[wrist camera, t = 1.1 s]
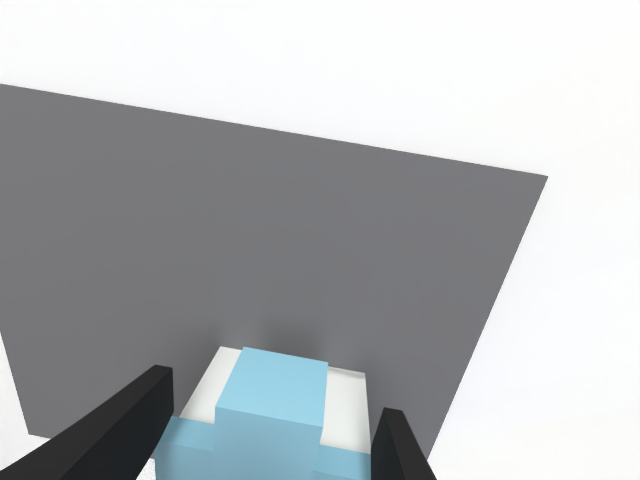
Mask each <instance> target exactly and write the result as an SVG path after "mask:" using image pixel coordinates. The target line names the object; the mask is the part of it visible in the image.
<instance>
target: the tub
mask: <svg viewBox="0 0 640 480" xmlns="http://www.w3.org/2000/svg"><path fill="white" fill-rule="evenodd" d="M241 351H242V350H238V349H232V348H227V347H222V346H220V348H219V350H218V351H217V353H216V355H215V357H214V358H213V360H212V362H211V363H210V365H209V367H208V368H207V370H206V372H205V374H204V375H203V377H202V379H201V380H200V382H199V384H198V386H197V387H196V389H195V391H194V392H193V394H192V396H191V398H190V399H189V401H188V403H187V404H186V406H185V408H184V409H183V411H182V413H181V415H180V416H179V417H180V418H185V419H190V420H195V421H200V422H206V423H211V424H214V420H215V406H216V403H217V401H218V399H219V397H220V395H221V393H222V391H223V389H224V387H225V385H226V382H227V380H228V378H229V376H230V374H231V372H232V370H233V368H234V366H235V364H236V362H237V359H238V357H239V355H240V353H241ZM320 445H325V446H330V447H336V448H341V449H346V450H351V451H356V452H362V453H367V454H371V442H370V430H369V417H368V405H367V392H366V380H365V373H361V372H356V371H351V370H345V369H340V368H334V367H329V366H328V371H327V385H326V398H325V411H324V424H323V430H322V435H321V439H320Z"/></svg>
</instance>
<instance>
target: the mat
mask: <svg viewBox="0 0 640 480" xmlns="http://www.w3.org/2000/svg"><path fill="white" fill-rule="evenodd" d="M547 178H548V176H545V175H539V174H533V173H527V172H521V171H515V170H509V169H503V168H498V167H492V166H486V165H480V164H474V163H468V162H462V161H456V160H450V159H444V158H438V157H432V156H426V155H420V154H414V153H408V152H402V151H397V150H391V149H385V148H379V147H373V146H367V145H361V144H355V143H349V142H343V141H337V140H331V139H325V138H319V137H313V136H307V135H302V134H296V133H290V132H284V131H278V130H272V129H266V128H260V127H254V126H248V125H242V124H236V123H230V122H224V121H218V120H212V119H206V118H201V117H195V116H189V115H183V114H177V113H171V112H165V111H159V110H153V109H147V108H141V107H135V106H129V105H123V104H117V103H111V102H105V101H100V100H94V99H88V98H82V97H76V96H70V95H64V94H58V93H52V92H46V91H40V90H34V89H28V88H22V87H16V86H10V85H5V84H0V332H1V336H2V340H3V343H4V347H5V350H6V354H7V358H8V361H9V365H10V368H11V372H12V376H13V379H14V383H15V386H16V390H17V394H18V397H19V401H20V404H21V408H22V411H23V415H24V419H25V422H26V426H27V429H28V433H29V434H30V435H35V436H40V437H45V438H51V439H52V438H53V437H55V436H56V435H58V434H59V433H61V432H62V431H64V430H65V429H67V428H68V427H70V426H71V425H72V424H74V423H75V422H77V421H78V420H80V419H81V418H83V417H84V416H85V415H87V414H88V413H90V412H91V411H92V410H94V409H95V408H97V407H98V406H99V405H101V404H102V403H103V402H105V401H106V400H108V399H109V398H110V397H112V396H113V395H114V394H116V393H117V392H119V391H120V390H121V389H123V388H124V387H125V386H127V385H128V384H129V383H131V382H132V381H133V380H135V379H136V378H137V377H139V376H140V375H141V374H143V373H144V372H145V371H147V370H148V369H149V368H151V367H152V366H154V365H155V364H156V365H161V366H166V367H172V368H173V393H174V412H173V415H172V416H174V417H179V416H180V415H181V413H182V411H183V409H184V408H185V406H186V404H187V403H188V401H189V399H190V398H191V396H192V394H193V392H194V391H195V389H196V387H197V386H198V384H199V382H200V380H201V379H202V377H203V375H204V374H205V372H206V370H207V368H208V367H209V365H210V363H211V362H212V360H213V358H214V357H215V355H216V353H217V351H218V350H219V348H220V346H222V347H227V348H232V349H238V350H242V349H243V347H248V348H254V349H259V350H265V351H270V352H275V353H281V354H286V355H292V356H297V357H302V358H308V359H313V360H318V361H324V362H328V366H329V367H334V368H340V369H345V370H351V371H356V372H361V373H365V380H366V392H367V405H368V417H369V430H370V442H371V445H372V442H373V439H374V436H375V433H376V430H377V427H378V424H379V420H380V417H381V414H382V411H383V408H384V407H386V408H392V409H397V410H402V411H403V413H404V414H405V416H406V418H407V421H408V423H409V425H410V427H411V429H412V431H413V433H414V436H415V438H416V440H417V442H418V444H419V446H420V448H421V450H422V452H423V454H424V456H425V458H426V460H427V459H428V457H429V454H430V452H431V450H432V447H433V445H434V443H435V440H436V438H437V436H438V433H439V431H440V429H441V426H442V424H443V422H444V419H445V417H446V415H447V412H448V410H449V408H450V405H451V403H452V401H453V398H454V396H455V394H456V391H457V389H458V387H459V384H460V382H461V380H462V377H463V375H464V373H465V370H466V368H467V366H468V363H469V361H470V359H471V356H472V354H473V352H474V349H475V347H476V345H477V342H478V340H479V337H480V335H481V333H482V330H483V328H484V326H485V323H486V321H487V319H488V316H489V314H490V312H491V309H492V307H493V305H494V302H495V300H496V298H497V295H498V293H499V291H500V288H501V286H502V284H503V281H504V279H505V277H506V274H507V272H508V270H509V267H510V265H511V263H512V260H513V258H514V256H515V253H516V251H517V249H518V246H519V244H520V242H521V239H522V237H523V235H524V232H525V230H526V228H527V225H528V223H529V221H530V218H531V216H532V214H533V211H534V209H535V207H536V204H537V202H538V200H539V197H540V195H541V192H542V190H543V188H544V185H545V183H546V181H547ZM150 458H153V459H155V457H154V451H153V453H152V455H151V456H150Z"/></svg>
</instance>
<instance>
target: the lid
mask: <svg viewBox="0 0 640 480" xmlns="http://www.w3.org/2000/svg"><path fill="white" fill-rule="evenodd" d="M327 371H328V362H324V361H318V360H313V359H308V358H302V357H297V356H292V355H286V354H281V353H275V352H270V351H265V350H259V349H254V348H248V347H243V349H242V351H241V353H240V355H239V357H238V359H237V362H236V364H235V366H234V368H233V370H232V372H231V374H230V376H229V378H228V380H227V382H226V385H225V387H224V389H223V391H222V393H221V395H220V397H219V399H218V401H217V403H216V406H215V420H214V424H211V423H206V422H200V421H195V420H190V419H185V418H180V417H174V416H172V417H171V419H170V421H169V423H168V425H167V427H166V429H165V431H164V433H163V435H162V437H161V439H160V441H159V443H158V445H157V446H156V448H155V450H154V457H155V473H156V480H371V454H367V453H362V452H356V451H351V450H346V449H341V448H336V447H330V446H325V445H320V439H321V435H322V430H323V424H324V411H325V398H326V385H327Z"/></svg>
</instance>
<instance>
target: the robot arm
mask: <svg viewBox="0 0 640 480" xmlns="http://www.w3.org/2000/svg"><path fill="white" fill-rule="evenodd" d="M173 412H174V393H173V368H172V367H166V366H161V365H156V364H155V365H154V366H152V367H151V368H149V369H148V370H147V371H145V372H144V373H143V374H141V375H140V376H139V377H137V378H136V379H135V380H133V381H132V382H131V383H129V384H128V385H127V386H125V387H124V388H123V389H121V390H120V391H119V392H117V393H116V394H114V395H113V396H112V397H110V398H109V399H108V400H106V401H105V402H103V403H102V404H101V405H99V406H98V407H97V408H95V409H94V410H92V411H91V412H90V413H88V414H87V415H85V416H84V417H83V418H81V419H80V420H78V421H77V422H75V423H74V424H72V425H71V426H70V427H68V428H67V429H65V430H64V431H62V432H61V433H59V434H58V435H56V436H55V437H53V438H52V439H50V440H49V441H47V442H46V443H44V444H43V445H41V446H40V447H38V448H37V449H35V450H33V451H32V452H30V453H29V454H27V455H26V456H24V457H22V458H21V459H19V460H18V461H16V462H14V463H13V464H11V465H10V466H8V467H6V468H5V469H3V470H1V471H0V480H136V479H137V477H138V475H139V474H140V472H141V471H142V469H143V467H144V466H145V464H146V463H147V461H148V459H149V458H150V456H151V455H152V453H153V451H154V450H155V448H156V446H157V445H158V443H159V441H160V439H161V437H162V435H163V433H164V431H165V429H166V427H167V425H168V423H169V421H170V419H171V417H172V415H173ZM371 480H437V479H436V477H435V475H434V473H433V472H432V470H431V468H430V466H429V464H428V462H427V460H426V458H425V456H424V454H423V452H422V450H421V448H420V446H419V444H418V442H417V440H416V438H415V436H414V433H413V431H412V429H411V427H410V425H409V423H408V421H407V418H406V416H405V414H404V413H403V411H402V410H397V409H392V408H386V407H384V408H383V411H382V414H381V417H380V420H379V424H378V427H377V430H376V433H375V436H374V439H373V442H372V445H371Z"/></svg>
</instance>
